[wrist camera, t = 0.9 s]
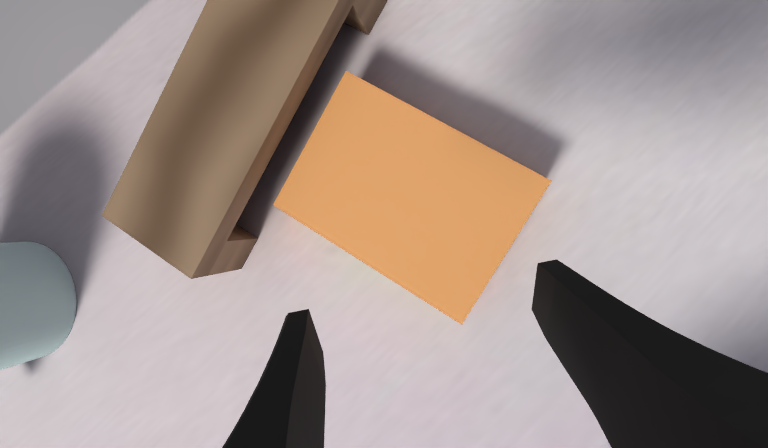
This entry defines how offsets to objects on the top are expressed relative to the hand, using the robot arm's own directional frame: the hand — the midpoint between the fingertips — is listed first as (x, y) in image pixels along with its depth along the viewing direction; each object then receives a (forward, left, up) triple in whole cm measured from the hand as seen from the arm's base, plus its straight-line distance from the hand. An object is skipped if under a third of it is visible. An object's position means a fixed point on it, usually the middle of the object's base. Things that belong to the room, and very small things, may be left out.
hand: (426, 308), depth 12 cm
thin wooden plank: (+4, -3, -12) cm, 13 cm away
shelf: (+15, -3, -12) cm, 19 cm away
